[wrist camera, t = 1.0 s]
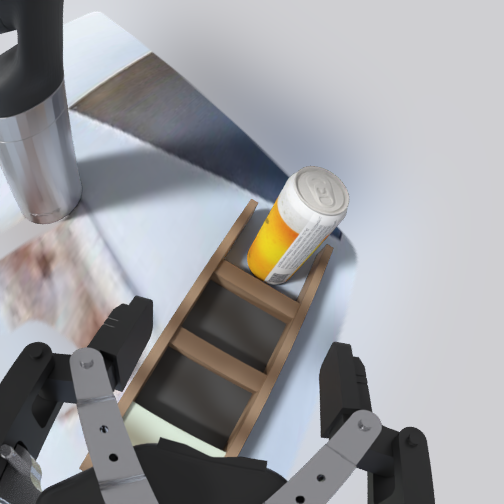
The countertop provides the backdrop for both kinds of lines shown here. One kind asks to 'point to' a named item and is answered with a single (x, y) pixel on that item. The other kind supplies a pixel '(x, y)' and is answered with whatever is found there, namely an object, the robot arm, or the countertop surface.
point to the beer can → (297, 224)
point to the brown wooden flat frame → (216, 357)
